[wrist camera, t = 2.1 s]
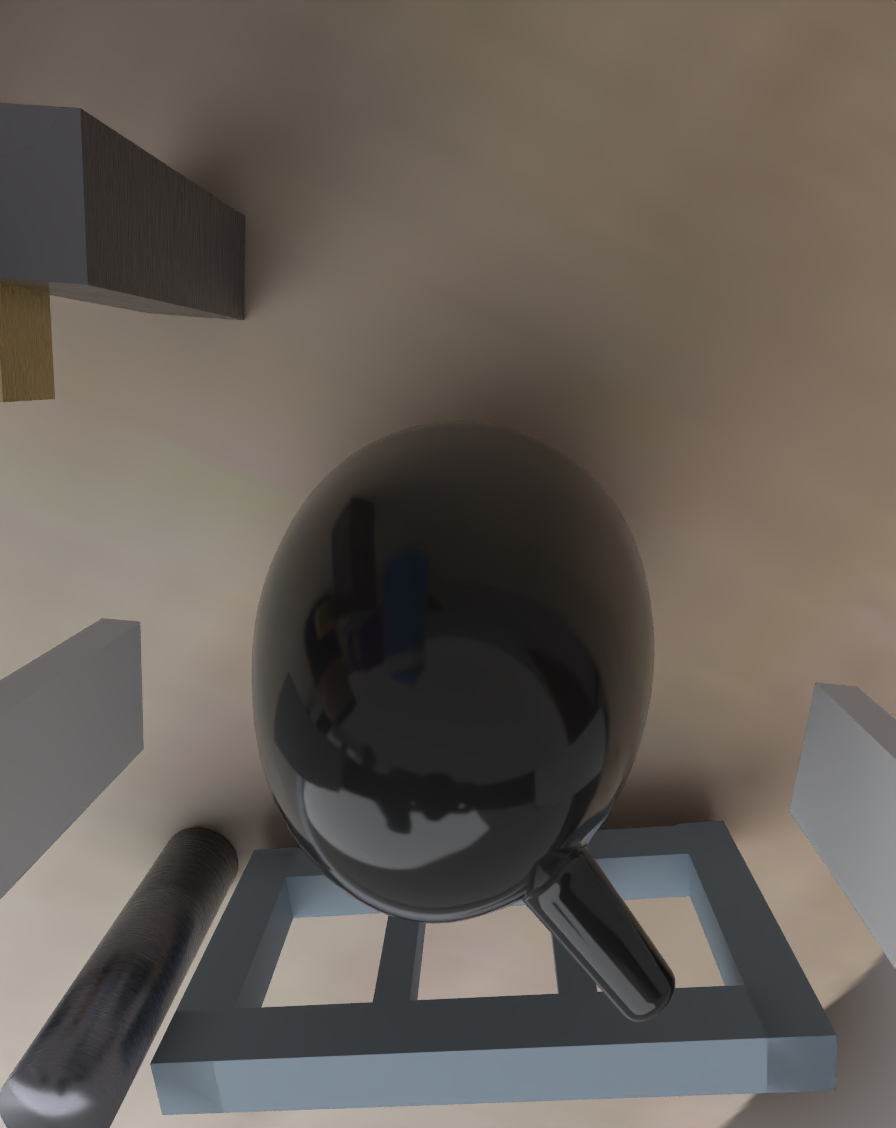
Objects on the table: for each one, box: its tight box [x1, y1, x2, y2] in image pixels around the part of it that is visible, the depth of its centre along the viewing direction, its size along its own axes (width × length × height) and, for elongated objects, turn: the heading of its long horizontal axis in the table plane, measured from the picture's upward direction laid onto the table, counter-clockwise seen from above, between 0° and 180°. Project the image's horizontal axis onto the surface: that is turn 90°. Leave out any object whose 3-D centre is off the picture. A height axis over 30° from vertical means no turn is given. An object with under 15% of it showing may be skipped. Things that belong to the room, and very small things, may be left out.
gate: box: [150, 821, 837, 1115], centre depth 23 cm, size 2×17×9 cm, turn 96°
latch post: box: [0, 103, 245, 402], centre depth 19 cm, size 4×5×10 cm, turn 176°
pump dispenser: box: [252, 421, 675, 1022], centre depth 18 cm, size 10×10×15 cm
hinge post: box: [0, 828, 238, 1128], centre depth 24 cm, size 3×3×10 cm
